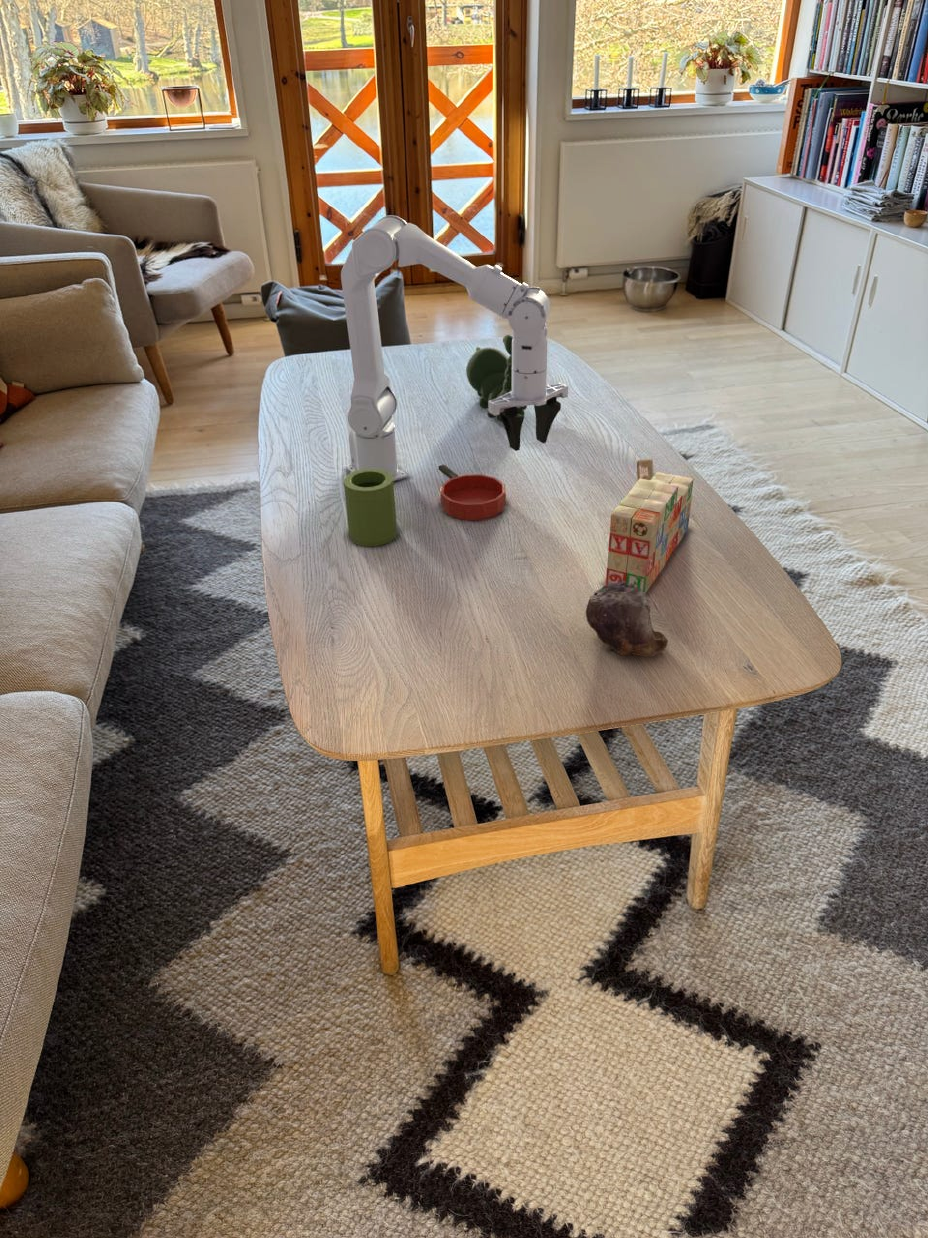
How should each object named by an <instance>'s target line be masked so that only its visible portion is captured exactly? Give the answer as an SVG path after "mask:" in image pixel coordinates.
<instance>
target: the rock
mask: <svg viewBox="0 0 928 1238" xmlns="http://www.w3.org/2000/svg"><path fill="white" fill-rule="evenodd" d="M585 616H586V621H587V623H588V625H589V627H590V628H591V629H593V630H594V631H595V633H596V634H597V637H598V639H600V641H601V642H602V643H603V644H605V645H607V646H608V649H609V650H613V651H614V652H615V653H619V655H621V656H628V655H636V656H639V657H641V656H642V657H654V656H656V655H657V654H659V653H661V652H662V651H664V649H665V648H667V646H668V643H669V639H668V638H667V637H666V636H665V635H664V633H662V632H661V631H655V630H654V628H653V625H652V624H653V623H652V620H651V604H650V602H649V598H648V597H647V596H646V593H644V592H642V591H641V590H640V589H638V588H635V586H634V585H633V584H632V585H630V584H628V583H626V582H625V581H619V582H617V583H611V584H608V585H606V584H605V585H604V586H602V587H600V588H598V589H597V590H595V591H594V592H593V594H592V595H590V596H589V600H588V601H587V605H586V609H585Z"/></svg>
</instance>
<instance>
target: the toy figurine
mask: <svg viewBox="0 0 928 1238" xmlns="http://www.w3.org/2000/svg"><path fill="white" fill-rule="evenodd" d="M512 339H513V335H511V334H506V335H504V336H503V338H502V343H503V345H504V349H505V351H506V352H507V354H508V355H509V356H507V355H506V354H505V353H504V352H503V351H502V350H501V349H498V348H495V347H491V346H490V347H489V346H488V347H483V348H481V347H479V346H477V347H476V348H475V352H474V353H473V354H472V355H471V356H470V358H469V360H468V362H467V364H466V366H465V373H466V378H467V381H468V383H469V385H470V386H471V387H472V389H474V390H475V391H476V393H477V395H478V397H479V400H478V405H479V407H480V408H481V409H484V410H485V409H486V410H487V413H486V415H487V417H488V418H490V419H494V418H496V421H499V422H502V421H501V419H500V417H499V415H496V416H494V415H493V414H491V413H490V412H489V407H488V401H490V400H493V399H496V398H498V397H500V396H502V395H504V394H506V393H508V392H510V391H512ZM527 408H528V405H527V406H524V407H520V408H517V411H519V414H521V415H522V416H524V417H525V410H526V409H527Z"/></svg>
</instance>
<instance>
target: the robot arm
mask: <svg viewBox="0 0 928 1238" xmlns="http://www.w3.org/2000/svg"><path fill="white" fill-rule="evenodd" d="M397 260H398V263H397V267H398V268H402V267H409V266H414V265H422V266H424V267H426V268H428V269H430V270H432V271H434V272H436V273H438V274H439V275H442V276H444V277H446V278H448V279H450V280H451V281H454V282H455V283H457V284H459V285H461V286H463V287H465V289H466V291H467V294H468V297H469V299H470V300H472V301H474V302H475V303H477V304H479V305H481V306H482V307H484V308H485V309H487V310H489V311H491V312H492V313H494V314H496V315H498V316H500V317H501V318H503V319H506V320H507V321H508V325H509V326H510V329H511V330H512V336H513V339H512V391H510V392H508V393H506V394H504V395H502V396H500V397H498V398H496V399H493V400H490V401H488V407H489V408H488V410H489V412H490V413H491V414H493V415H494V416H496V415H499V417H500V419H501V421H500V422H501V423H502V425H503V427H504V430H505V432H506V437H507V440H508V445H509V448H510V449H512V450H513V451H514V452H517V451H520V449H521V432H522V426H523V424H524V423H523V422H524V419H525V415H524V416H522V415H521V414H519V411H517V408H520V407H524V406H527V407H528V406H533V408H534V415H535V439H536V440H537V441H538V442H539V443H541V444H546V443H547V441H548V437H549V433H550V431H551V428H552V425H553V423H554V421H555V418H556V417H557V416H558V414H559V412H560V411H561V408H562V404H561V402H560V401H558V400H557V399H558V398H562V399H565V398H568V397H569V386H568V385H567V384H565V383H563V382H559V383H558V382H557V383H553V384H552V383H551V384H547V376H548V344H549V343H548V342H549V340H548V337H547V336H548V323H547V319H548V318H549V316H550V313H551V308H552V304H551V303H552V302H551V300H550V297H549V296H548V295H547V293H546V292H545V291H544V290H542V289H541V287H539V286H529V284H527V283H525V282H522V283H521V282H518V281H517V280H515V279H513V278H512V277H510V276H508V275H506V274H504V273H503V272H502V271H503V268H502V267H500V266H499V265H497V264H495V265H494V266H491V265H489V264H484V265H480V266H475V265H474V264H472V263H471V262H469V261H468V260H466V259H465V258H463V257H462V256H460V255H458V254H457V253H455V252H454V251H453V250H451V249H450V248H448V247H447V246H445V245H443V244H442V243H440V241H439V242H438V240H436V239H434V238H433V237H431V236H430V235H428V234H426V232H424V231H423V230H422V229H421V228H420V227H418V226H417V225H416V224H413V223H411V222H406V220H404V219H403V218H401V216H398V215H394V214H393V215H392V214H390V215H385V216H382V217H381V218H380V219H378V221H376V222H375V224H373V225H372V226H371V227H369V228H367V229H365V230H364V231H363V232H362V233H360V234H359V235H358V236H357V237H356V238H355V239H354V240H353V241H352V242H351V248H350V251H349V252H348V254H347V257H346V259H345V262H344V264H343V266H342V269H341V271H340V280H341V288H342V295H343V296H342V297H343V303H344V310H345V317H346V325H347V333H348V342H349V350H350V357H351V364H352V372H353V383H352V387H351V392H350V396H349V399H350V407H349V410H348V413H347V422H348V425H349V427H350V428H349V429H350V430H349V432H348V446H349V456H350V464H349V465H346V470H347V471H348V472H349V473H351V472H353V471H357V470H360V469H369V468H375V469H382V470H385V471H388V472H389V473H390V474H392V475H393V482H395V481H399V480H403V479H406V478H407V477H408V475H407V473H406V472H404V471H403V470H402V469H401V468H399V467H398V453H397V437H396V426H395V422H394V420H393V415H394V414H395V413H396V411H397V408H398V398H397V395H396V393H395V392H394V390H393V389H392V386H391V385H392V384H391V378H390V377H389V376H388V375H387V374H386V373H385V366H384V365H385V364H384V356H383V349H382V347H383V346H382V338H381V331H380V330H381V329H380V322H379V311H378V304H377V294H376V286H375V284H376V283H375V281H376V279H377V278H378V276H379V275H380V274H381V273H382V272H384V271H386V270H387V269H389V268H391V266H393V264H394V263H395V262H396V261H397Z"/></svg>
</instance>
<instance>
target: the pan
mask: <svg viewBox="0 0 928 1238" xmlns="http://www.w3.org/2000/svg"><path fill="white" fill-rule="evenodd" d="M437 469H438V471H439V472H440V473H442V474H443V475H444V476H445V477H447V478H448V479H447V480H446V481H445V482H444V483H443V484H441V485H440V506H441V509H442V511H443V512H444V513H445V514H447V515H448V516H450V517H452V518H455V519H458V520H464V521H480V520H482V521H483V520H486V519H490V518H493V517H496V516H497V515H499V514H501V513H502V512H503V511H504V509H505V507H506V505H507V488H506V484H505V483H504V482H503V481H501V480H499V479H498V478H497V477H495V476H494V477H493V476H491V475H487V474H476V473H475V474H463V475H459V474H457V473H456V472H454V471H453V470H452V469H450V468H449V467H448V466H447V465H446V464H441V465H438V467H437Z"/></svg>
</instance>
